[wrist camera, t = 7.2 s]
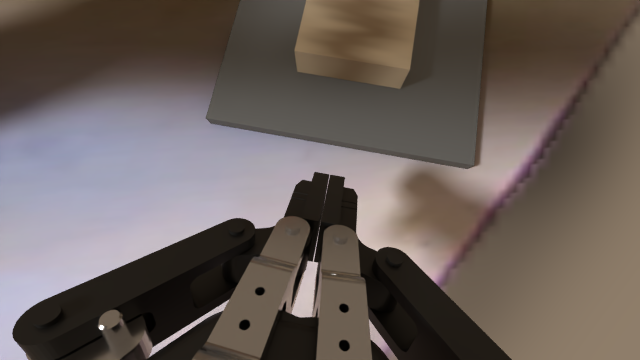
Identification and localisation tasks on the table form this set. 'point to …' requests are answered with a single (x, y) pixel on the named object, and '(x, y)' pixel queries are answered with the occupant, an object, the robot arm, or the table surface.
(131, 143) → the table surface
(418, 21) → the mat
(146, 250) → the table surface
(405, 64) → the wooden block
